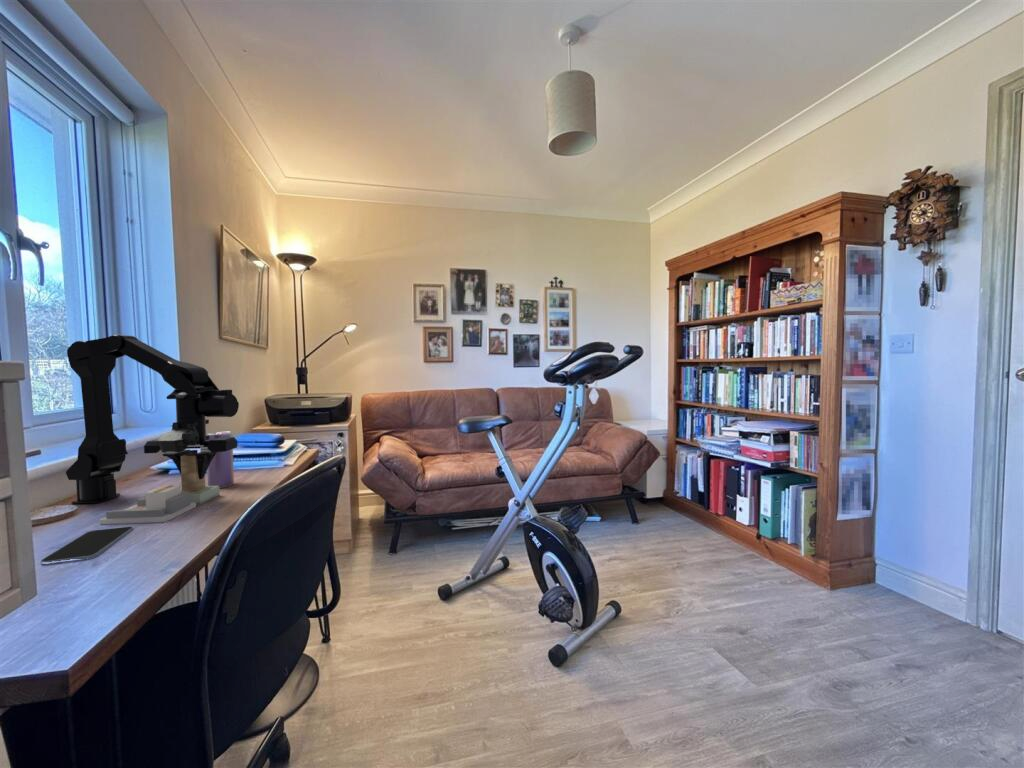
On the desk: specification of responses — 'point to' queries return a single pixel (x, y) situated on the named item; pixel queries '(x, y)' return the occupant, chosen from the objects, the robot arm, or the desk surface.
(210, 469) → the beverage can
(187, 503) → the panel
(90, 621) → the desk surface
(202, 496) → the holder
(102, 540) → the smartphone
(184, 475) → the tan rectangular block
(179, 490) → the breaker
